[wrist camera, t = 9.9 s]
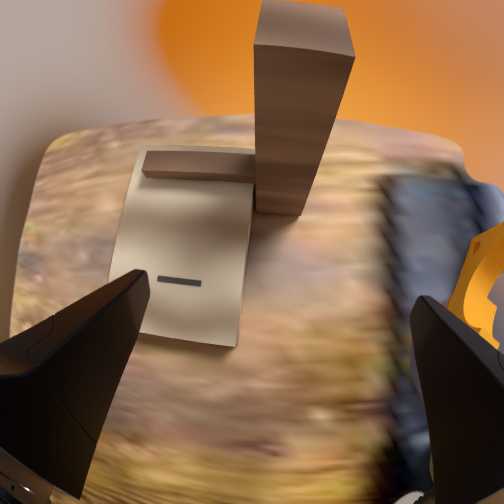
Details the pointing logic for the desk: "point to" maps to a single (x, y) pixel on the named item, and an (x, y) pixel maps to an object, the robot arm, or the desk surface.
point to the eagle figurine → (427, 498)
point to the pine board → (187, 250)
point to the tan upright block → (280, 108)
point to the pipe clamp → (479, 282)
